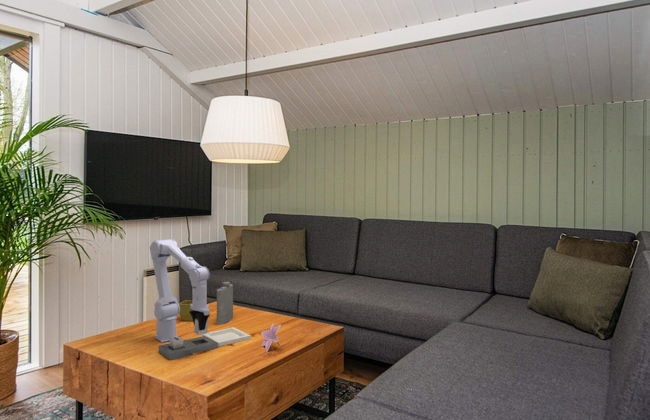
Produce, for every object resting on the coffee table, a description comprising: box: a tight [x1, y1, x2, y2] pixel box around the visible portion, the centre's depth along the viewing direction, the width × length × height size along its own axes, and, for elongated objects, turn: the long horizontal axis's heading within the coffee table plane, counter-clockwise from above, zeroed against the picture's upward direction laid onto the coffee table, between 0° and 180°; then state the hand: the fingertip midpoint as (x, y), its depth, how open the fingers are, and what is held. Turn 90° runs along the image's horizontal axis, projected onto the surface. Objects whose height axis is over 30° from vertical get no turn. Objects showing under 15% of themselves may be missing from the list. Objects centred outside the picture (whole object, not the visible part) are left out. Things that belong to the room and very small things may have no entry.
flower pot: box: [178, 299, 193, 322], centre depth 229 cm, size 9×9×9 cm
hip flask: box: [216, 281, 234, 326], centre depth 226 cm, size 16×4×20 cm, turn 170°
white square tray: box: [201, 327, 252, 348], centre depth 199 cm, size 16×16×2 cm
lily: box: [260, 323, 282, 353], centre depth 189 cm, size 12×12×10 cm
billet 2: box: [194, 318, 209, 336], centre depth 188 cm, size 4×4×6 cm
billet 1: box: [169, 336, 184, 350], centre depth 181 cm, size 4×4×6 cm
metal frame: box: [158, 335, 218, 361], centre depth 185 cm, size 12×20×2 cm, turn 130°
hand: (199, 328), depth 188 cm, fingers closed on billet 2, 4 cm apart
